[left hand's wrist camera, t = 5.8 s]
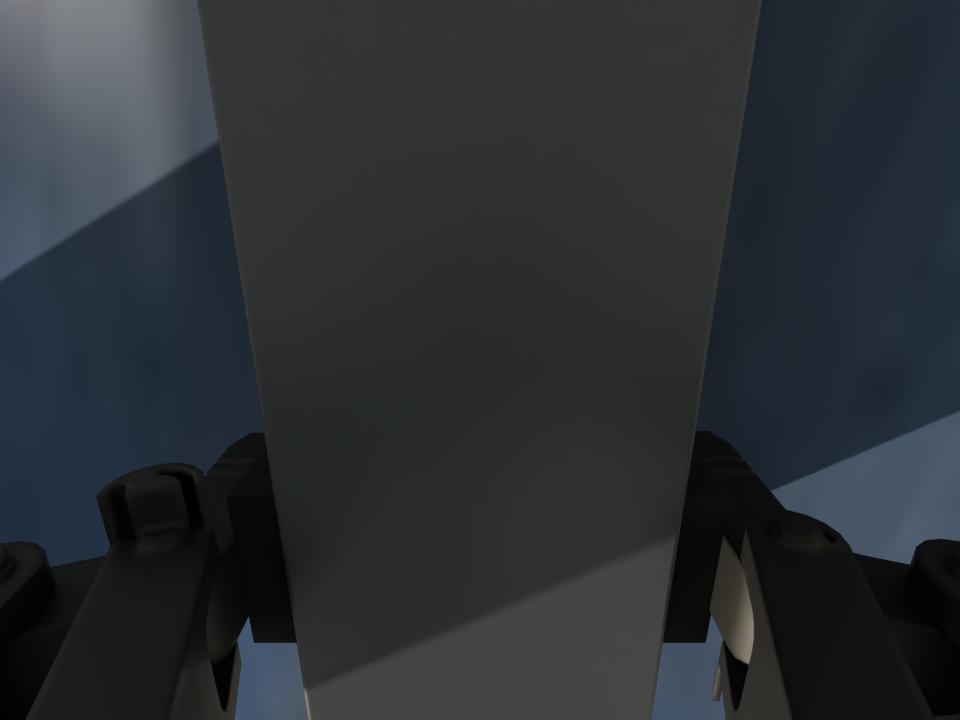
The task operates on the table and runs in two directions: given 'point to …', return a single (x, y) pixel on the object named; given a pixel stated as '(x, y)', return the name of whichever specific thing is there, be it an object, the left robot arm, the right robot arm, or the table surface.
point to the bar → (479, 330)
